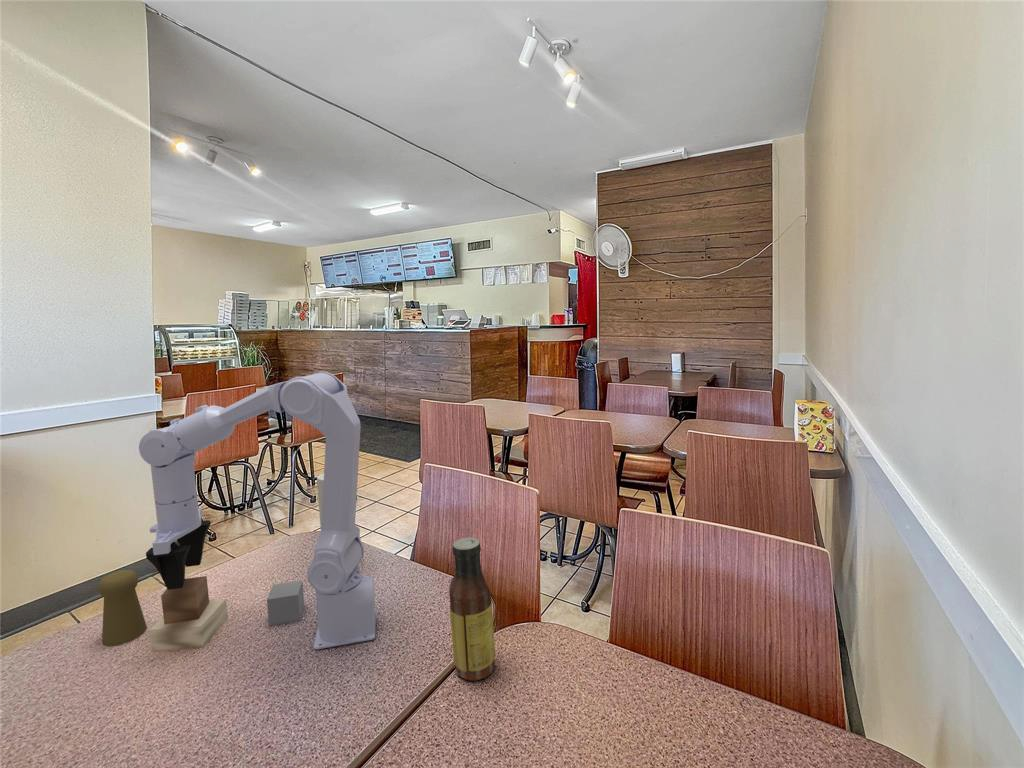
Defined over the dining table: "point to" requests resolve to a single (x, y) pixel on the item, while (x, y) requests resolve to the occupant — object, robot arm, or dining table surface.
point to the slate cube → (285, 603)
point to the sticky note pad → (189, 629)
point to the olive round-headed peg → (121, 608)
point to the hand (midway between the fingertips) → (184, 576)
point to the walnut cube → (185, 601)
